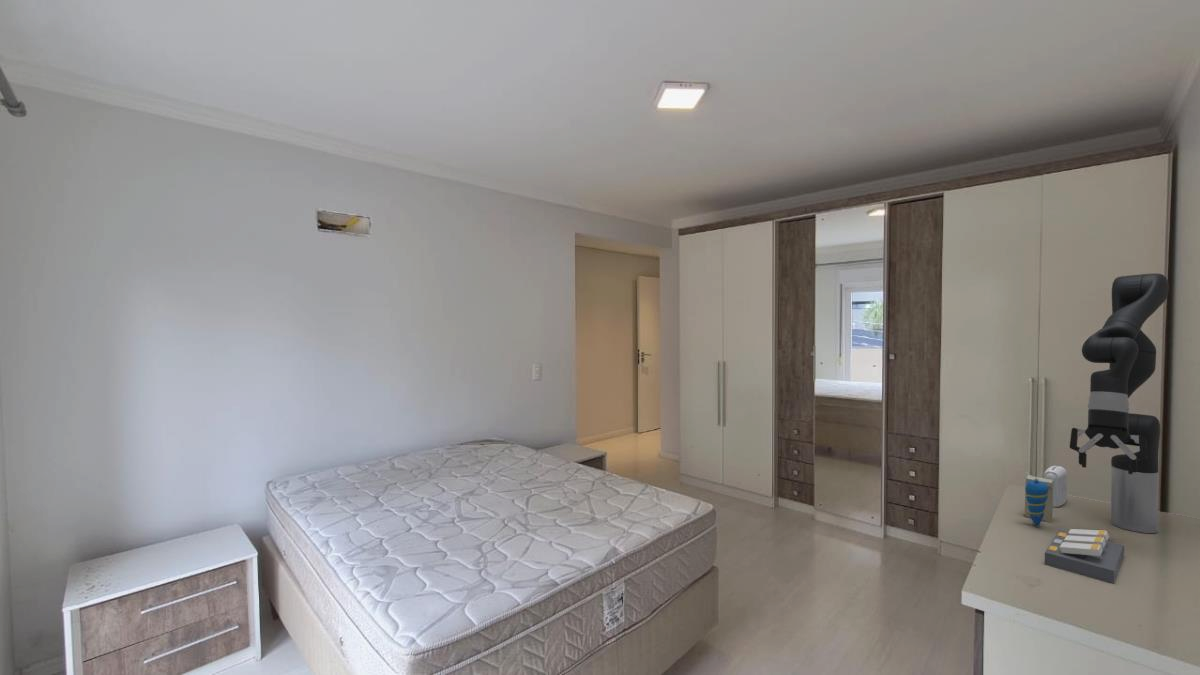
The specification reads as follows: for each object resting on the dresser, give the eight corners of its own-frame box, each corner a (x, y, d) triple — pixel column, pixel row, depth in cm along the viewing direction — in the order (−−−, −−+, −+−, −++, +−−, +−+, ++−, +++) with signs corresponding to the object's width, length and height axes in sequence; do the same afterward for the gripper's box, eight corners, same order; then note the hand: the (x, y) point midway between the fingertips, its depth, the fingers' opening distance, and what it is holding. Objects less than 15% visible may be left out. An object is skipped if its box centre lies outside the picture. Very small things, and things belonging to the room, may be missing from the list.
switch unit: (1059, 540, 133) (1059, 527, 133) (1123, 556, 124) (1123, 542, 124) (1044, 564, 121) (1044, 549, 121) (1114, 583, 112) (1114, 567, 112)
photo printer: (1051, 498, 164) (1051, 462, 164) (1068, 501, 161) (1068, 465, 161) (1041, 504, 159) (1041, 467, 158) (1059, 508, 155) (1059, 470, 155)
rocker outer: (1064, 547, 123) (1062, 541, 123) (1102, 550, 117) (1100, 544, 117) (1061, 552, 120) (1059, 546, 120) (1100, 555, 115) (1098, 549, 115)
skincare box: (1024, 516, 150) (1024, 478, 149) (1026, 512, 153) (1026, 474, 152) (1052, 522, 145) (1052, 482, 145) (1053, 518, 148) (1053, 479, 148)
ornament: (1048, 526, 143) (1048, 476, 142) (1048, 532, 139) (1048, 480, 138) (1025, 521, 146) (1025, 472, 146) (1024, 527, 142) (1024, 477, 142)
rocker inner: (1072, 534, 130) (1070, 528, 130) (1109, 536, 125) (1107, 530, 125) (1069, 538, 127) (1068, 532, 128) (1107, 540, 122) (1104, 534, 122)
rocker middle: (1068, 540, 126) (1066, 534, 127) (1106, 543, 121) (1103, 536, 121) (1065, 545, 124) (1063, 539, 124) (1103, 548, 118) (1101, 541, 119)
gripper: (1148, 414, 127) (1147, 476, 125) (1073, 408, 138) (1071, 465, 136) (1147, 412, 122) (1146, 476, 121) (1069, 405, 133) (1067, 464, 131)
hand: (1106, 470), depth 128 cm, fingers open, 8 cm apart
